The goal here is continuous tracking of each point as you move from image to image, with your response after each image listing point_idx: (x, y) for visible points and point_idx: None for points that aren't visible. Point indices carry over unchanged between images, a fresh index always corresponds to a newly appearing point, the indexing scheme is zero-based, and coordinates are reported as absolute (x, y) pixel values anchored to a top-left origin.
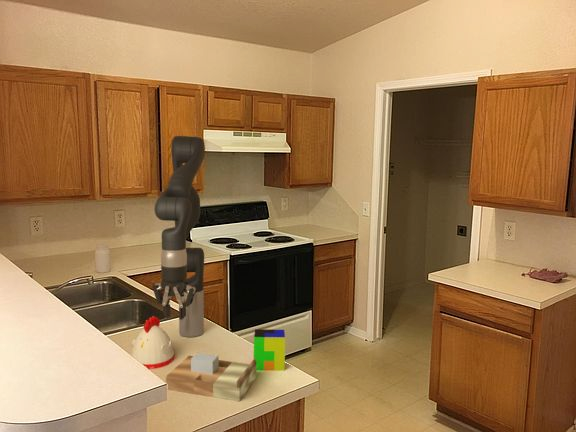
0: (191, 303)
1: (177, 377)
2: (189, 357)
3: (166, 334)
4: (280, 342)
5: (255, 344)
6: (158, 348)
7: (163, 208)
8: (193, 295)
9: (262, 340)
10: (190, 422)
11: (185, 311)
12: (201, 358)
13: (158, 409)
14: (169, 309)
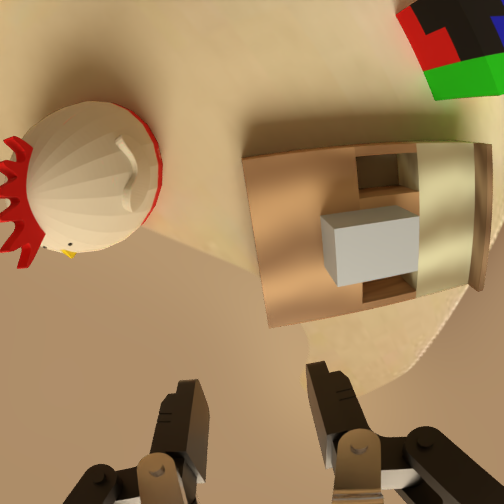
0: (437, 438)
1: (306, 317)
2: (255, 174)
3: (88, 145)
4: None
5: (493, 94)
6: (121, 217)
7: None
8: (491, 496)
9: None
10: (386, 372)
11: (357, 407)
12: (373, 267)
13: (304, 374)
14: (194, 426)
